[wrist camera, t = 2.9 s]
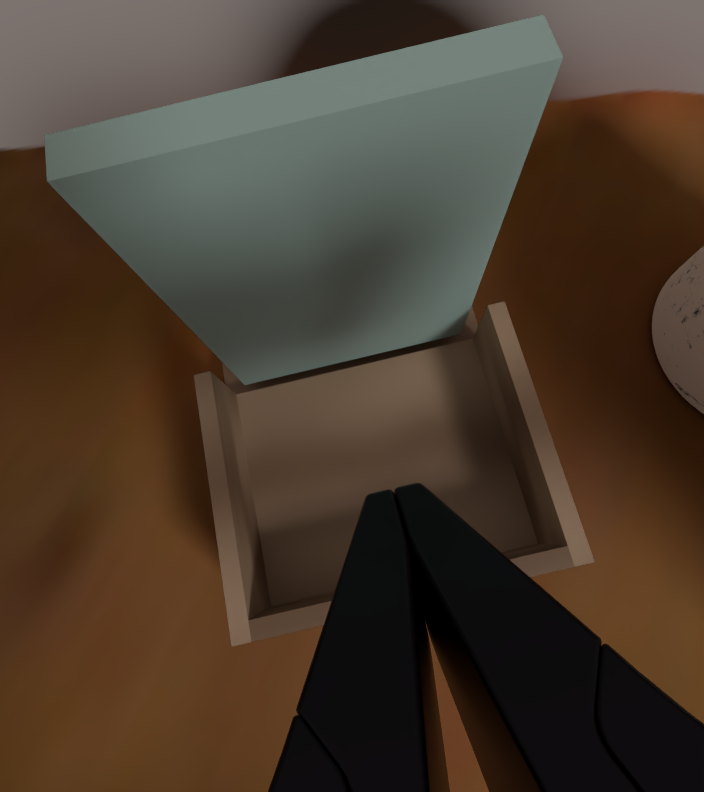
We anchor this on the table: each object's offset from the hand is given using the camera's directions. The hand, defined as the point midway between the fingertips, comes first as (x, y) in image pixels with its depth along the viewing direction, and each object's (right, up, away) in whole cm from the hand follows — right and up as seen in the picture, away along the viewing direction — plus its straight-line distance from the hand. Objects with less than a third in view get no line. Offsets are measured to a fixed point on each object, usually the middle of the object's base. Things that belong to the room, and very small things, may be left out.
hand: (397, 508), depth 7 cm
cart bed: (0, -1, +13) cm, 13 cm away
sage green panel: (-1, +4, +13) cm, 13 cm away
